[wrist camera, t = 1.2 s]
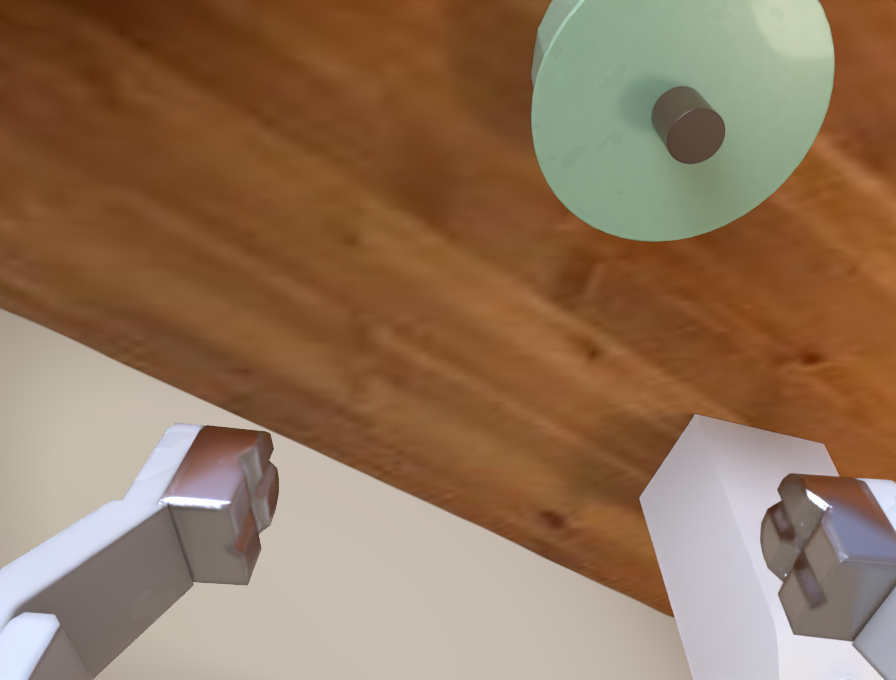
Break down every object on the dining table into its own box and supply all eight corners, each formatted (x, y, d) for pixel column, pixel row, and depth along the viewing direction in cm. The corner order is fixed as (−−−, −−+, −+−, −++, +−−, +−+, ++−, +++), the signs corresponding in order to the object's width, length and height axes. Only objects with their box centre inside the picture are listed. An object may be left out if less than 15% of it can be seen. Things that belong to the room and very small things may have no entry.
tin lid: (474, 84, 31) (471, 114, 27) (742, -145, 25) (786, -147, 21) (623, 275, 36) (637, 321, 33) (869, 124, 31) (921, 160, 27)
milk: (639, 498, 61) (712, 824, 40) (695, 413, 54) (819, 754, 33) (754, 523, 62) (884, 853, 41) (823, 443, 55) (1021, 791, 34)
